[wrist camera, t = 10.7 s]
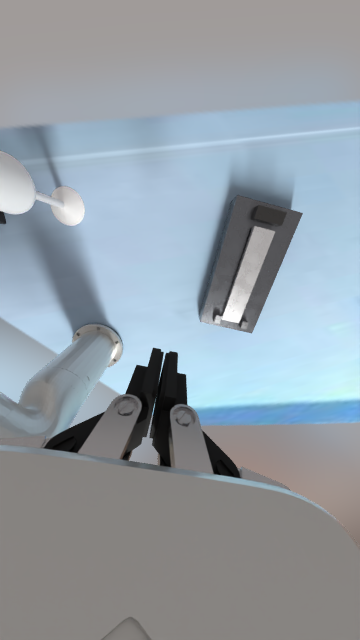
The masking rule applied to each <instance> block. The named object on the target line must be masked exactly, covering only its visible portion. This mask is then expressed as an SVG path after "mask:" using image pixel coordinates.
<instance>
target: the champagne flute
mask: <svg viewBox="0 0 360 640" xmlns="http://www.w3.org/2000/svg"><path fill="white" fill-rule="evenodd" d="M35 200H39V201H42V202H45V203H48V204H50V205H51V209H52V212H53V214H54V215H55V217H56V218H57V219H58V220H59V221H60V222H61V223H63V224H65V225H68V226H74V225H77V224H79V223H80V222H81V221H82V219H83V217H84V213H85V208H84V203H83V201H82V199H81V197H80V195H79V194H78V193H77V192H76V191H75V190H73V189H72V188H70V187H66V186H62V187H58V188H56V189H55V190H54V191H53V193H52V195H51V197H50V196H48V195H45V194H43V193H40V192H37V191H36V189H35V185H34V182H33V180H32V178H31V176H30V174H29V173H28V171H27V170H26V169H25V167H24V166H23V165H22V164H21V163H20V162H19V161H18V160H17V159H15V158H14V157H13V156H11V155H9V154H7V153H5V152H3V151H0V211H2V212H6V213H9V214H22V213H25V212H27V211H28V210H29V209H31V208H32V206H33V205H34V203H35Z"/></svg>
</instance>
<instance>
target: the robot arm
mask: <svg viewBox="0 0 360 640" xmlns="http://www.w3.org/2000/svg"><path fill="white" fill-rule="evenodd" d="M99 327H100V328H99ZM122 353H123V344H122V341H121V339H120V337H119V336H118V335H117V333H116V332H114V331H113V330H112V329H111V328H109V327H107V326H105V325H101V324H87V325H84V326H83V327H81V328H80V329H78V330H77V331H76V332H75V334H74V336H73V340H72V344H71V345H70V346H68V347H67V348H66V349H65V350H64V351H63V352H61V353H60V354H59V355H58V356H57V357H55V358H54V359H53V360H52V361H51V362H50V363H48V364H47V365H46V366H45V367H44V368H43V369H41V370H40V371H39V372H38V373H37V374H36V375H34V376H33V377H32V378H31V379H30V380H29V382H28V383H27V384H26V386H25V388H24V389H23V391H22V394H21V396H20V400H19V404H17V403H16V402H14V401H13V400H11V399H10V398H9V397H7V396H6V395H4V394H3V393H1V392H0V640H360V546H359V544H358V543H357V542H356V540H355V539H354V538H353V536H352V535H351V534H350V533H349V532H348V530H347V529H346V528H345V527H344V526H343V525H342V523H341V522H339V521H338V520H337V519H336V518H335V517H334V516H333V515H332V514H330V513H329V512H328V511H326V510H325V509H323V508H322V507H320V506H319V505H317V504H316V503H314V502H312V501H311V500H309V499H307V498H306V497H304V496H301V495H299V494H297V493H294V492H292V491H291V490H290V489H289V488H288V487H287V486H285V485H283V484H282V483H279V482H277V481H274V480H272V479H270V478H267V477H265V476H263V475H260V474H258V473H255V472H253V471H251V470H248V469H246V468H244V467H241V469H239V468H237V467H236V465H235V464H234V463H233V462H232V460H231V459H230V458H229V457H228V456H227V455H226V454H225V453H224V452H223V451H222V450H221V449H220V448H219V447H218V446H217V445H216V444H215V443H214V442H213V441H212V440H211V439H210V438H209V437H208V436H207V435H206V434H205V433H204V432H203V431H202V429H201V425H200V421H199V417H198V415H197V413H196V411H195V410H194V409H193V408H191V407H190V406H188V405H187V388H186V375H185V374H180V373H177V362H178V353H176V352H171V351H170V352H169V353H166V355H165V360H164V364H163V368H162V372H161V366H162V360H163V354H164V352H161V349H157V348H153V350H152V353H151V357H150V360H149V364H148V367H145V366H140V365H136V368H135V370H134V373H133V376H132V378H131V381H130V383H129V386H128V388H127V391H126V394H123V395H120V396H118V397H116V398H115V399H114V400H113V401H112V402H111V404H110V406H109V407H108V408H107V410H106V411H105V412H103V413H101V414H99V415H97V416H94V417H92V418H90V419H88V420H86V421H84V422H82V423H80V424H77V425H75V426H73V427H71V428H69V427H70V425H71V423H72V422H73V420H74V418H75V417H76V415H77V413H78V412H79V410H80V409H81V407H82V405H83V404H84V402H85V401H86V399H87V397H88V396H89V395H90V393H91V391H92V390H93V388H94V387H95V385H96V383H97V382H98V381H99V379H100V377H101V376H102V374H103V373H104V371H105V370H106V368H107V367H110V366H112V365H114V364H116V363H117V362H118V361H119V359H120V358H121V356H122ZM160 372H161V376H160ZM159 378H160V380H159ZM155 399H156V401H155ZM154 404H155V407H154ZM153 408H154V413H153V419H152V425H151V432H150V438H153V443H152V445H153V446H154V448H155V449H156V450H157V452H158V458H157V459H158V465H152V464H146V463H139V462H133V461H129V460H130V457H131V455H132V450H133V449H135V448H136V447H138V446H139V445H140V444H141V442H142V437H146V436H147V433H148V428H149V424H150V420H151V416H152V412H153Z"/></svg>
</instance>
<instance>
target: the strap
mask: <svg viewBox="0 0 360 640" xmlns="http://www.w3.org/2000/svg"><path fill="white" fill-rule="evenodd" d="M274 234H275V231H272V230H268V229H264V228H261V227H257V226H253V227H252V230H251V233H250V236H249V239H248V242H247V244H246V247H245V250H244V253H243V256H242V259H241V262H240V265H239V267H238V270H237V273H236V276H235V279H234V282H233V285H232V288H231V290H230V293H229V296H228V299H227V302H226V305H225V308H224V310H223V313H222V318H221V319H222V320H227V321H231V322H235V323H239V322H240V320H241V317H242V315H243V312H244V309H245V307H246V304H247V302H248V299H249V297H250V294H251V292H252V289H253V287H254V284H255V282H256V279H257V277H258V274H259V272H260V269H261V267H262V264H263V262H264V259H265V257H266V254H267V252H268V249H269V246H270V244H271V241H272V239H273V236H274Z"/></svg>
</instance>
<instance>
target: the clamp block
mask: <svg viewBox="0 0 360 640" xmlns="http://www.w3.org/2000/svg"><path fill="white" fill-rule="evenodd" d="M302 214H303V213H300V212H297V211H293V210H290V209H286V208H282V207H279V206H275V205H271V204H268V203H264V202H260V201H257V200H253V199H249V198H246V197H242V196H239V195H237V196H236V197H235V198H234V199H233V200H232V202H231V205H230V209H229V212H228V216H227V219H226V223H225V226H224V230H223V233H222V236H221V240H220V243H219V247H218V250H217V254H216V257H215V261H214V264H213V268H212V271H211V275H210V278H209V282H208V285H207V289H206V292H205V296H204V299H203V302H202V306H201V309H200V313H199V319H200V322H204V323H208V324H213V325H217V326H222V327H226V328H231V329H235V330H240V331H244V332H249V333H252V332H253V330H254V327H255V325H256V323H257V320H258V318H259V315H260V313H261V311H262V308H263V306H264V304H265V301H266V299H267V297H268V294H269V292H270V289H271V287H272V285H273V282H274V280H275V278H276V275H277V273H278V271H279V268H280V266H281V263H282V261H283V259H284V256H285V254H286V252H287V249H288V247H289V245H290V242H291V240H292V237H293V235H294V233H295V230H296V228H297V226H298V223H299V221H300V219H301V216H302ZM253 226H257V227H261V228H264V229H268V230H272V231H275V234H274V236H273V239H272V241H271V244H270V246H269V249H268V252H267V254H266V257H265V259H264V262H263V264H262V267H261V269H260V272H259V274H258V277H257V279H256V282H255V284H254V287H253V289H252V292H251V294H250V297H249V299H248V302H247V304H246V307H245V309H244V312H243V315H242V317H241V320H240V322H239V323H235V322H231V321H227V320H222V319H221V318H222V313H223V310H224V308H225V305H226V302H227V299H228V296H229V293H230V290H231V288H232V285H233V282H234V279H235V276H236V273H237V270H238V267H239V265H240V262H241V259H242V256H243V253H244V250H245V247H246V244H247V242H248V239H249V236H250V233H251V230H252V227H253Z"/></svg>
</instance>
